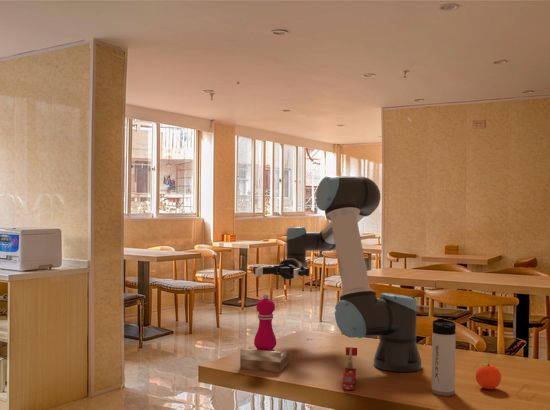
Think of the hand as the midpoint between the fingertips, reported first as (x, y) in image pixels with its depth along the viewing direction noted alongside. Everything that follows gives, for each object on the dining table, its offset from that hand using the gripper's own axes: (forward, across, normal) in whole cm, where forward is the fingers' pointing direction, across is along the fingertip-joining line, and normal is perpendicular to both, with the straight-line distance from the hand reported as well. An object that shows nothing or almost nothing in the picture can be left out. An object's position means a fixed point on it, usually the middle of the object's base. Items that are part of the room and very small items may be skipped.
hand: (275, 273), depth 201 cm
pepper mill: (+12, 0, -26) cm, 28 cm away
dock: (+12, 0, -29) cm, 31 cm away
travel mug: (+23, -55, -30) cm, 67 cm away
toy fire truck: (+23, -29, -30) cm, 47 cm away
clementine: (+15, -67, -30) cm, 75 cm away
